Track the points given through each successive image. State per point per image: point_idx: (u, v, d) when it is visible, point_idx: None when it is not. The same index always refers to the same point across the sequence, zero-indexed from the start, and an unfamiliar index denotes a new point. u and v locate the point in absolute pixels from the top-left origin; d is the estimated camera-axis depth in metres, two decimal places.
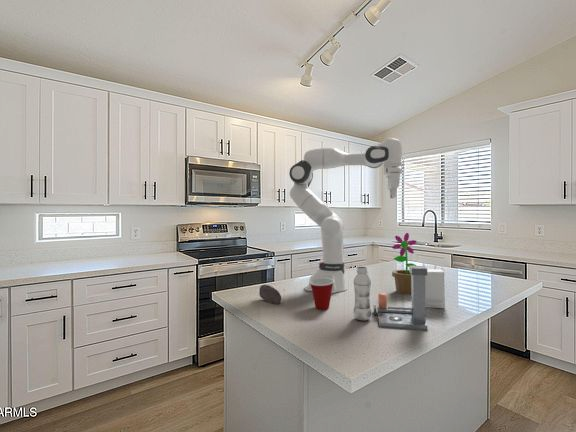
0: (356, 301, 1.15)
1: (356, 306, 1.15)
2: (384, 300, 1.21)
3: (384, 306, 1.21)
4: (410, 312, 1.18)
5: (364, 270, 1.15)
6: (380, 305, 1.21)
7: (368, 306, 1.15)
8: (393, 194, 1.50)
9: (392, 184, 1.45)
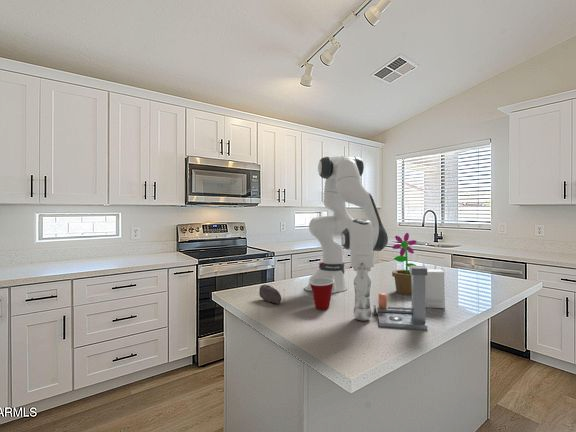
0: (356, 301, 1.15)
1: (356, 306, 1.15)
2: (384, 300, 1.21)
3: (384, 306, 1.21)
4: (410, 312, 1.18)
5: None
6: (380, 305, 1.21)
7: (368, 306, 1.15)
8: None
9: None
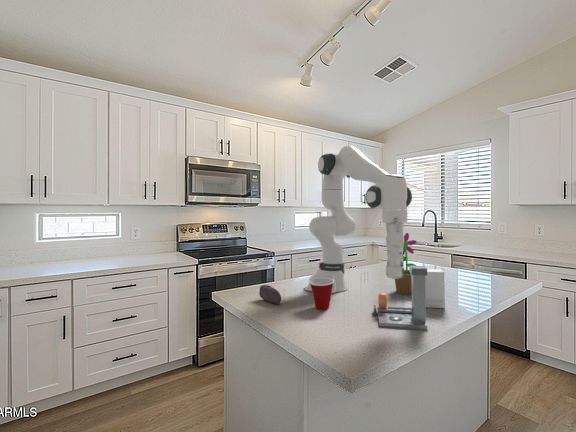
0: (389, 259, 1.11)
1: (389, 264, 1.11)
2: (384, 300, 1.21)
3: (384, 306, 1.21)
4: (410, 312, 1.18)
5: None
6: (380, 305, 1.21)
7: (402, 264, 1.10)
8: None
9: None
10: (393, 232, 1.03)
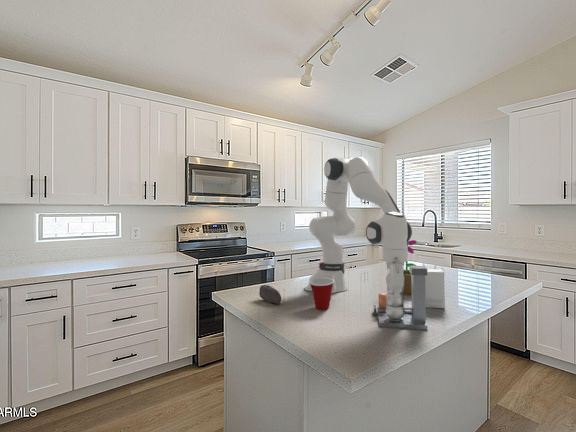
0: (389, 299, 1.11)
1: (389, 304, 1.11)
2: (384, 300, 1.21)
3: (384, 306, 1.21)
4: (410, 312, 1.18)
5: None
6: (380, 305, 1.21)
7: (402, 304, 1.10)
8: None
9: None
10: (393, 273, 1.03)
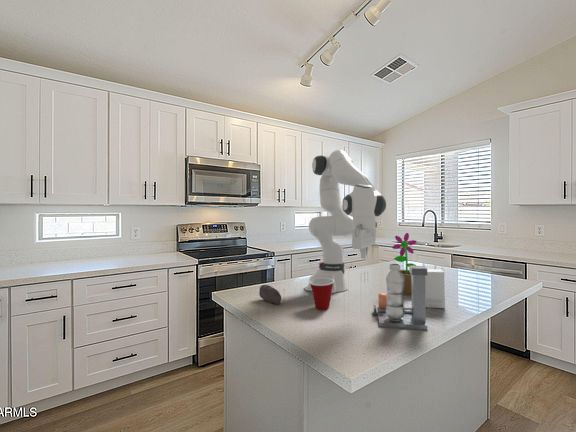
0: (389, 299, 1.11)
1: (389, 304, 1.11)
2: (384, 300, 1.21)
3: (384, 306, 1.21)
4: (410, 312, 1.18)
5: (398, 267, 1.10)
6: (380, 305, 1.21)
7: (402, 304, 1.10)
8: None
9: None
10: (352, 237, 1.16)
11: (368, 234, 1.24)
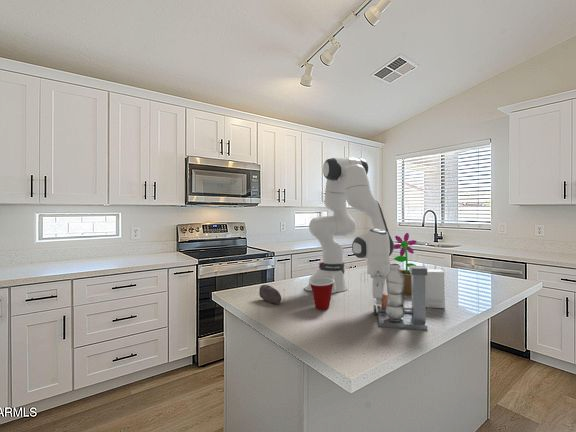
0: (389, 299, 1.11)
1: (389, 304, 1.11)
2: None
3: None
4: (410, 312, 1.18)
5: (398, 267, 1.10)
6: (383, 305, 1.21)
7: (402, 304, 1.10)
8: None
9: None
10: (373, 286, 1.14)
11: None
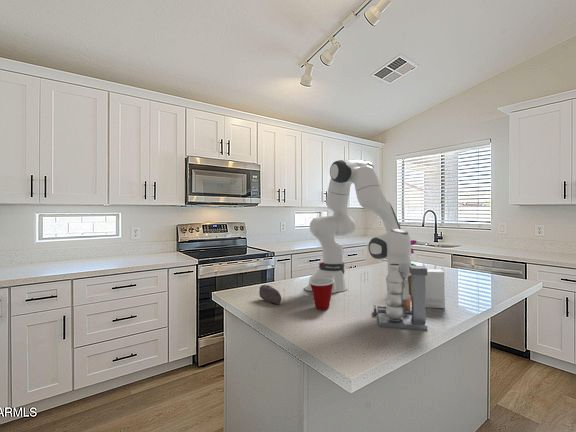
0: (389, 299, 1.11)
1: (389, 304, 1.11)
2: (408, 301, 1.19)
3: (408, 307, 1.19)
4: (410, 312, 1.18)
5: (398, 267, 1.10)
6: (404, 306, 1.19)
7: (402, 304, 1.10)
8: None
9: None
10: None
11: None
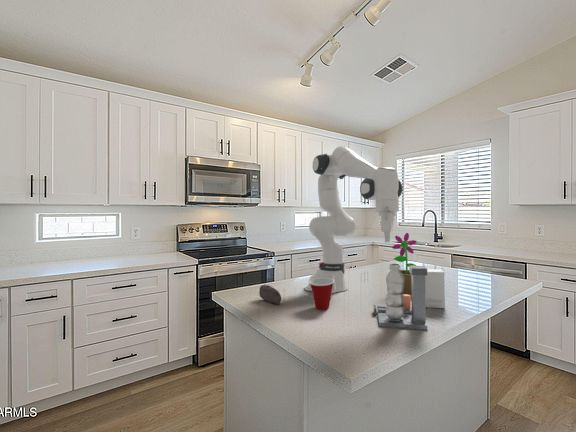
0: (389, 299, 1.11)
1: (389, 304, 1.11)
2: (408, 301, 1.19)
3: (408, 307, 1.19)
4: (410, 312, 1.18)
5: (398, 267, 1.10)
6: (404, 306, 1.19)
7: (402, 304, 1.10)
8: None
9: None
10: (382, 220, 1.13)
11: None
